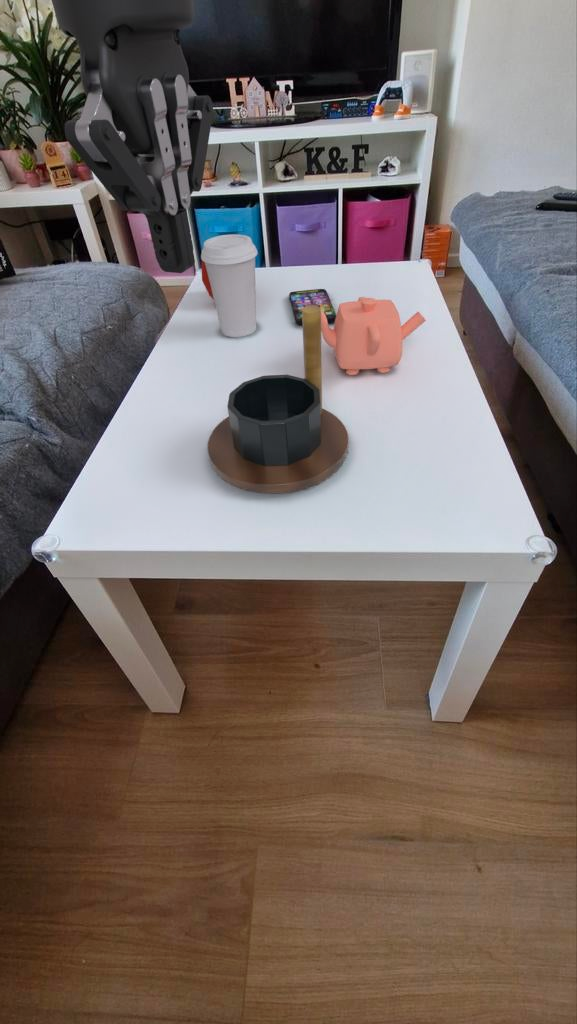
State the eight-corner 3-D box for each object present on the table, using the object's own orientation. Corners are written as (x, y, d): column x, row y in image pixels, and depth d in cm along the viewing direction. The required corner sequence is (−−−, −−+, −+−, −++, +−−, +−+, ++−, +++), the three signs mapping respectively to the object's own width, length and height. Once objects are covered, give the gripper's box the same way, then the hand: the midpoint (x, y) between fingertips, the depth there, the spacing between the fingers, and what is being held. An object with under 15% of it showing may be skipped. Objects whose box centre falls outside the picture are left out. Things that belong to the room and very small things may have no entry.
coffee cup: (204, 337, 90) (188, 248, 80) (227, 316, 96) (215, 231, 86) (251, 343, 87) (240, 252, 77) (272, 321, 94) (265, 234, 83)
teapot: (368, 337, 86) (371, 277, 79) (423, 359, 80) (432, 295, 73) (308, 367, 80) (306, 304, 73) (362, 393, 73) (366, 327, 66)
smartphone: (295, 322, 90) (287, 291, 101) (296, 327, 91) (288, 296, 102) (338, 317, 91) (325, 288, 101) (338, 322, 91) (325, 292, 102)
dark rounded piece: (246, 514, 55) (226, 393, 45) (188, 436, 67) (162, 325, 56) (376, 459, 61) (386, 340, 50) (302, 396, 73) (297, 288, 62)
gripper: (122, -74, 30) (181, 239, 42) (-61, -108, 21) (79, 298, 33) (231, -93, 28) (261, 245, 40) (74, -140, 19) (173, 309, 31)
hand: (178, 269), depth 37 cm, fingers closed
